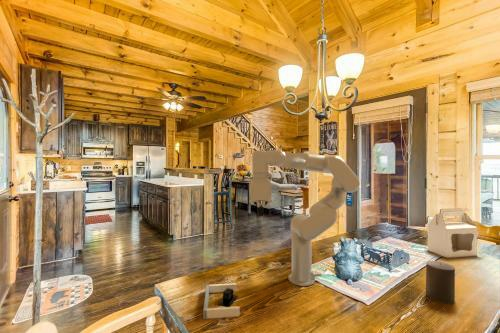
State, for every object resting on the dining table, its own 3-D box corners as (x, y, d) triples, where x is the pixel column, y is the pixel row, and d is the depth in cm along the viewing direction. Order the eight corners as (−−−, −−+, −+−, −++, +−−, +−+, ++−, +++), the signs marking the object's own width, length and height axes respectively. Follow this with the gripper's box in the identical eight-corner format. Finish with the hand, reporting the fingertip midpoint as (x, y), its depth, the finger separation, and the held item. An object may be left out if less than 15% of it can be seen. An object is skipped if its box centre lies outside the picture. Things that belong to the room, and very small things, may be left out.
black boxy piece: (229, 311, 96) (229, 300, 96) (212, 308, 98) (212, 296, 98) (241, 295, 107) (241, 285, 107) (226, 292, 110) (226, 282, 110)
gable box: (446, 257, 148) (446, 211, 148) (427, 250, 161) (427, 207, 161) (477, 255, 152) (477, 210, 151) (456, 248, 165) (456, 206, 164)
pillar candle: (447, 306, 98) (447, 268, 98) (420, 294, 107) (421, 259, 107) (459, 300, 102) (460, 264, 102) (433, 289, 111) (433, 256, 111)
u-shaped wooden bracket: (236, 289, 111) (236, 283, 111) (239, 316, 92) (239, 308, 92) (206, 291, 110) (206, 284, 110) (203, 318, 90) (203, 310, 90)
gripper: (274, 176, 122) (274, 213, 122) (244, 176, 120) (244, 214, 120) (277, 176, 114) (277, 216, 115) (245, 177, 113) (245, 217, 113)
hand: (260, 215), depth 117 cm, fingers closed
